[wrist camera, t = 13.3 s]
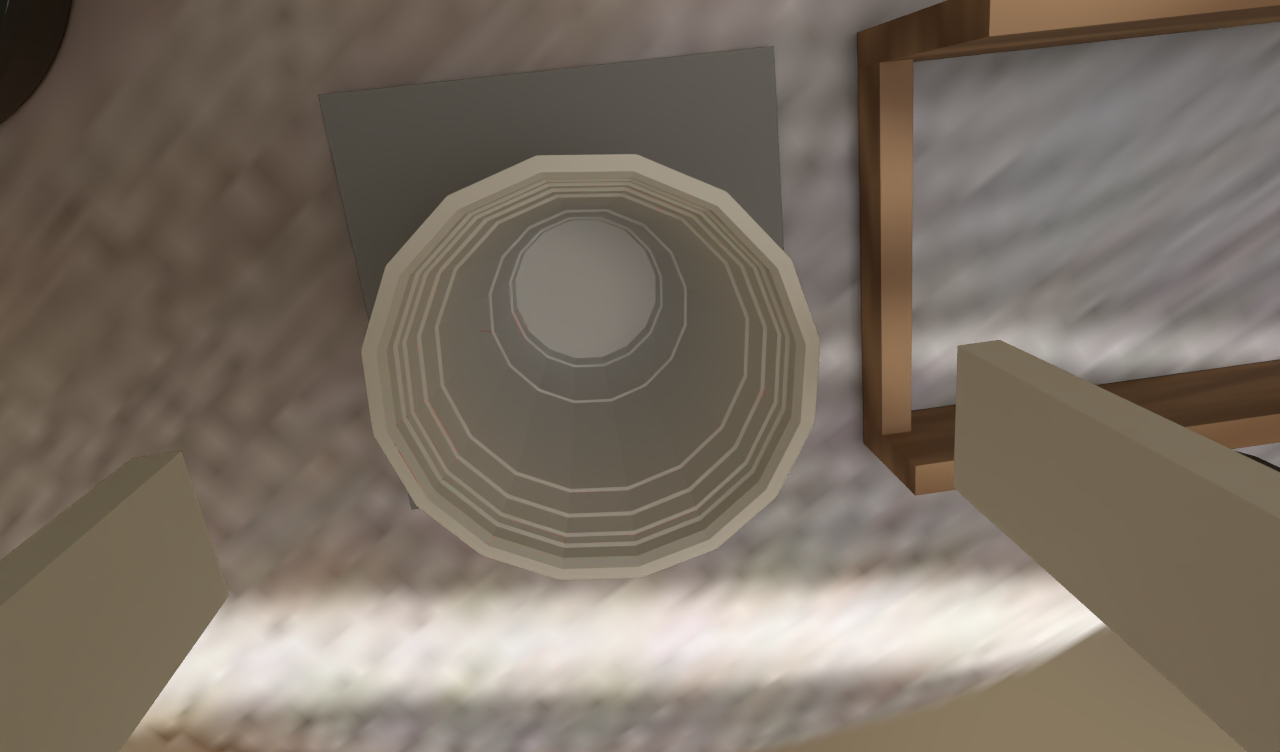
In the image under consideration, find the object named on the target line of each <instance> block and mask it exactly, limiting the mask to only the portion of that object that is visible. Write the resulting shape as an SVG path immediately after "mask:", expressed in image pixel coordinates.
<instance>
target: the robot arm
mask: <svg viewBox="0 0 1280 752" xmlns="http://www.w3.org/2000/svg"><path fill="white" fill-rule="evenodd" d="M70 2H71V0H0V122H2V121H3V120H4V119H6V118H7V117H8V116H9V115H11V114H12V113H13V112H14V111H15V110H16V109H17V108H18V107H19V106H20V105H21V104H22V103H23V102H24V101H25V100H26V99H27V98H28V96H29V95H30V94H31V93H32V92H33V91H34V89H35V88H36V86H37V85H38V84H39V82H40V81H41V79H42V78H43V76H44V75H45V73H46V71H47V70H48V68H49V66H50V64H51V62H52V60H53V58H54V56H55V54H56V52H57V50H58V47H59V44H60V41H61V39H62V36H63V33H64V30H65V26H66V22H67V18H68V14H69V8H70ZM953 487H954V488H955V489H956V490H957V491H958V492H959V493H960V494H961V495H962V496H964V497H965V498H966V499H967V500H968V501H969V502H970V503H971V504H972V505H974V506H975V507H976V508H977V509H978V510H979V511H980V512H981V513H982V514H984V515H985V516H986V517H987V518H988V519H989V520H990V521H991V522H992V523H994V524H995V525H996V526H997V527H998V528H999V529H1000V530H1001V531H1002V532H1004V533H1005V534H1006V535H1007V536H1008V537H1009V538H1010V539H1011V540H1012V541H1014V542H1015V543H1016V544H1017V545H1018V546H1019V547H1020V548H1021V549H1022V550H1024V551H1025V552H1026V553H1027V554H1028V555H1029V556H1030V557H1031V558H1032V559H1034V560H1035V561H1036V562H1037V563H1038V564H1039V565H1040V566H1041V567H1042V568H1044V569H1045V570H1046V571H1047V572H1048V573H1049V574H1050V575H1051V576H1052V577H1054V578H1055V579H1056V580H1057V581H1058V582H1059V583H1060V584H1061V585H1062V586H1064V587H1065V588H1066V589H1067V590H1068V591H1069V592H1070V593H1071V594H1072V595H1074V596H1075V597H1076V598H1077V599H1078V600H1079V601H1080V602H1081V603H1082V604H1084V605H1085V606H1086V607H1087V608H1088V609H1089V610H1090V611H1091V612H1092V613H1094V614H1095V615H1096V616H1097V617H1098V618H1099V619H1100V620H1101V621H1102V622H1104V623H1105V624H1106V625H1107V626H1108V627H1109V628H1110V629H1111V630H1112V631H1114V632H1115V633H1116V634H1117V635H1118V636H1119V637H1120V638H1121V639H1122V640H1124V641H1125V642H1126V643H1127V644H1128V645H1129V646H1130V647H1131V648H1133V649H1134V650H1135V651H1136V652H1137V653H1138V654H1139V655H1140V656H1141V657H1143V658H1144V659H1145V660H1146V661H1147V662H1148V663H1149V664H1150V665H1151V666H1153V667H1154V668H1155V669H1156V670H1157V671H1158V672H1159V673H1160V674H1161V675H1163V676H1164V677H1165V678H1166V679H1167V680H1168V681H1169V682H1170V683H1172V684H1173V685H1174V686H1175V687H1176V688H1177V689H1178V690H1179V691H1180V692H1181V693H1183V694H1184V695H1185V696H1186V697H1187V698H1188V699H1189V700H1190V701H1191V702H1193V703H1194V704H1195V705H1196V706H1197V707H1198V708H1199V709H1200V710H1201V711H1203V712H1204V713H1205V714H1206V715H1207V716H1208V717H1209V718H1210V719H1212V720H1213V721H1214V722H1215V723H1216V724H1217V725H1218V726H1219V727H1220V728H1221V729H1223V730H1224V731H1225V732H1226V733H1227V734H1228V735H1229V736H1230V737H1232V738H1233V739H1234V740H1235V741H1236V742H1237V743H1238V744H1239V745H1240V746H1242V747H1243V748H1244V749H1245V750H1246V751H1247V752H1280V468H1279V467H1277V466H1275V465H1273V464H1271V463H1269V462H1267V461H1264V460H1262V459H1260V458H1258V457H1255V456H1252V455H1248V454H1245V453H1241V452H1237V451H1234V450H1232V449H1229V448H1227V447H1225V446H1223V445H1221V444H1219V443H1217V442H1215V441H1212V440H1210V439H1208V438H1206V437H1204V436H1202V435H1200V434H1198V433H1196V432H1193V431H1191V430H1189V429H1187V428H1185V427H1183V426H1181V425H1179V424H1177V423H1174V422H1172V421H1170V420H1168V419H1166V418H1164V417H1162V416H1160V415H1158V414H1155V413H1153V412H1151V411H1149V410H1147V409H1145V408H1143V407H1141V406H1138V405H1136V404H1134V403H1132V402H1130V401H1128V400H1126V399H1124V398H1122V397H1119V396H1117V395H1115V394H1113V393H1111V392H1109V391H1107V390H1105V389H1103V388H1100V387H1098V386H1096V385H1094V384H1092V383H1090V382H1088V381H1086V380H1084V379H1081V378H1079V377H1077V376H1075V375H1073V374H1071V373H1069V372H1067V371H1064V370H1062V369H1060V368H1058V367H1056V366H1054V365H1052V364H1050V363H1048V362H1045V361H1043V360H1041V359H1039V358H1037V357H1035V356H1033V355H1031V354H1029V353H1026V352H1024V351H1022V350H1020V349H1018V348H1016V347H1014V346H1012V345H1010V344H1007V343H1005V342H1003V341H1001V340H996V341H988V342H981V343H974V344H966V345H959V346H958V353H957V385H956V417H955V448H954V480H953ZM228 596H229V593H228V590H227V587H226V584H225V581H224V578H223V575H222V572H221V569H220V566H219V563H218V560H217V557H216V554H215V551H214V548H213V545H212V542H211V539H210V536H209V533H208V530H207V527H206V524H205V521H204V518H203V515H202V512H201V509H200V506H199V503H198V500H197V497H196V494H195V491H194V488H193V485H192V482H191V479H190V476H189V473H188V469H187V466H186V463H185V460H184V457H183V454H182V451H180V452H172V453H165V454H158V455H150V456H143V457H136V458H132V459H131V460H129V461H128V462H127V463H125V464H124V465H123V466H122V467H120V468H119V469H118V470H116V471H115V472H114V473H113V474H111V475H110V476H109V477H107V478H106V479H105V480H104V481H102V482H101V483H100V484H98V485H97V486H96V487H94V488H93V489H92V490H91V491H89V492H88V493H87V494H85V495H84V496H83V497H82V498H80V499H79V500H78V501H76V502H75V503H74V504H73V505H71V506H70V507H69V508H67V509H66V510H65V511H63V512H62V513H61V514H60V515H58V516H57V517H56V518H54V519H53V520H52V521H51V522H49V523H48V524H47V525H45V526H44V527H43V528H41V529H40V530H39V531H38V532H36V533H35V534H34V535H32V536H31V537H30V538H29V539H27V540H26V541H25V542H23V543H22V544H21V545H20V546H18V547H17V548H16V549H14V550H13V551H12V552H10V553H9V554H8V555H7V556H5V557H4V558H3V559H1V560H0V752H119V751H120V750H121V748H122V747H123V745H124V744H125V743H126V741H127V740H128V738H129V737H130V735H131V734H132V733H133V731H134V730H135V728H136V727H137V725H138V724H139V723H140V721H141V720H142V718H143V717H144V716H145V714H146V713H147V711H148V710H149V708H150V707H151V706H152V704H153V703H154V701H155V700H156V698H157V697H158V696H159V694H160V693H161V691H162V690H163V689H164V687H165V686H166V684H167V683H168V681H169V680H170V679H171V677H172V676H173V674H174V673H175V671H176V670H177V669H178V667H179V666H180V664H181V663H182V662H183V660H184V659H185V657H186V656H187V654H188V653H189V652H190V650H191V649H192V647H193V646H194V644H195V643H196V642H197V640H198V639H199V637H200V636H201V634H202V633H203V632H204V630H205V629H206V627H207V626H208V625H209V623H210V622H211V620H212V619H213V617H214V616H215V615H216V613H217V612H218V610H219V609H220V607H221V606H222V605H223V603H224V602H225V600H226V599H227V598H228Z"/></svg>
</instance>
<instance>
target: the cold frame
mask: <svg viewBox="0 0 1280 752" xmlns="http://www.w3.org/2000/svg"><path fill="white" fill-rule="evenodd" d="M1272 22H1280V0H947V1H945V2H942V3H939V4H936V5H933V6H931V7H928V8H925V9H922V10H919V11H917V12H914V13H911V14H908V15H905V16H903V17H900V18H897V19H894V20H891V21H889V22H886V23H883V24H880V25H878V26H875V27H872V28H869V29H866V30H864V31H861V32H858V33H857V34H858V99H859V164H860V230H861V295H862V360H863V425H864V444H865V445H866V446H867V447H868V448H869V449H870V450H871V451H872V452H873V453H874V454H875V455H876V456H877V457H878V458H879V459H880V460H881V461H882V462H883V463H884V464H885V465H886V466H887V467H888V468H889V469H890V470H891V471H892V472H893V473H894V474H895V475H896V476H897V477H898V478H899V479H900V481H901V482H902V483H903V484H904V485H905V486H906V487H907V488H908V489H909V490H910V491H911V492H912V493H913V494H914V495H922V494H929V493H936V492H942V491H949V490H956V489H955V488H954V487H953V480H954V448H955V417H956V405H952V406H945V407H937V408H930V409H923V410H916V411H911V357H912V187H913V62H916V61H925V60H934V59H943V58H952V57H961V56H970V55H980V54H989V53H998V52H1007V51H1016V50H1025V49H1034V48H1043V47H1053V46H1062V45H1071V44H1080V43H1089V42H1098V41H1107V40H1116V39H1126V38H1135V37H1144V36H1153V35H1162V34H1171V33H1180V32H1189V31H1199V30H1208V29H1217V28H1226V27H1235V26H1244V25H1253V24H1262V23H1272ZM1096 386H1098V387H1100V388H1103V389H1105V390H1107V391H1109V392H1111V393H1113V394H1115V395H1117V396H1119V397H1122V398H1124V399H1126V400H1128V401H1130V402H1132V403H1134V404H1136V405H1138V406H1141V407H1143V408H1145V409H1147V410H1149V411H1151V412H1153V413H1155V414H1158V415H1160V416H1162V417H1164V418H1166V419H1168V420H1170V421H1172V422H1174V423H1177V424H1179V425H1181V426H1183V427H1185V428H1187V429H1189V430H1191V431H1193V432H1196V433H1198V434H1200V435H1202V436H1204V437H1206V438H1208V439H1210V440H1212V441H1215V442H1217V443H1219V444H1221V445H1223V446H1225V447H1227V448H1229V449H1236V448H1243V447H1250V446H1256V445H1263V444H1270V443H1277V442H1280V360H1275V361H1268V362H1261V363H1253V364H1246V365H1239V366H1232V367H1225V368H1217V369H1210V370H1203V371H1196V372H1189V373H1182V374H1174V375H1167V376H1160V377H1153V378H1146V379H1138V380H1131V381H1124V382H1117V383H1110V384H1103V385H1096Z"/></svg>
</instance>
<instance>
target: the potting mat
mask: <svg viewBox="0 0 1280 752" xmlns="http://www.w3.org/2000/svg"><path fill="white" fill-rule="evenodd" d="M318 96H319V101H320V105H321V110H322V114H323V119H324V123H325V127H326V132H327V136H328V141H329V145H330V150H331V154H332V158H333V163H334V167H335V172H336V176H337V181H338V185H339V189H340V194H341V198H342V203H343V207H344V212H345V216H346V220H347V225H348V229H349V234H350V238H351V243H352V247H353V251H354V256H355V260H356V265H357V269H358V274H359V278H360V283H361V287H362V291H363V296H364V300H365V305H366V309H367V314H368V318H369V321H370V318H371V315H372V311H373V308H374V304H375V301H376V298H377V294H378V291H379V287H380V284H381V280H382V277H383V274H384V270H385V267H386V265H387V264H388V263H389V262H390V261H391V259H392V258H393V257H394V256H395V255H396V254H397V253H398V251H399V250H400V249H401V248H402V247H403V246H404V245H405V243H406V242H407V241H408V240H409V239H410V238H411V237H412V235H413V234H414V233H415V232H416V231H417V230H418V229H419V227H420V226H421V225H422V224H423V223H424V222H425V221H426V219H427V218H428V217H429V216H430V215H431V214H432V213H433V211H434V210H435V209H436V208H437V207H438V206H439V205H440V203H441V202H442V201H443V200H444V199H445V198H446V197H447V196H448V195H450V194H452V193H455V192H457V191H459V190H461V189H463V188H466V187H468V186H470V185H472V184H474V183H477V182H479V181H481V180H483V179H485V178H488V177H490V176H492V175H494V174H496V173H499V172H501V171H503V170H505V169H508V168H510V167H512V166H514V165H516V164H519V163H521V162H523V161H525V160H527V159H530V158H532V157H534V156H536V155H609V154H637V155H640V156H642V157H644V158H647V159H649V160H652V161H654V162H656V163H659V164H661V165H664V166H666V167H668V168H671V169H673V170H676V171H678V172H680V173H683V174H685V175H688V176H690V177H692V178H695V179H697V180H700V181H702V182H704V183H707V184H709V185H712V186H714V187H716V188H719V189H721V190H724V191H726V192H727V193H728V194H729V195H730V196H731V197H732V198H733V199H734V200H735V201H736V202H737V203H738V204H739V205H740V206H741V207H742V208H743V209H744V210H745V211H746V212H747V214H748V215H749V216H750V217H751V218H752V219H753V220H754V221H755V222H756V223H757V224H758V225H759V226H760V227H761V228H762V229H763V230H764V231H765V232H766V233H767V234H768V235H769V237H770V238H771V239H772V240H773V241H774V242H775V243H776V244H777V245H778V246H779V247H780V248H781V249H782V250H783V251H784V248H783V227H782V205H781V184H780V163H779V142H778V121H777V100H776V79H775V58H774V46H770V47H761V48H752V49H742V50H733V51H723V52H714V53H705V54H695V55H686V56H677V57H667V58H658V59H649V60H639V61H630V62H621V63H611V64H602V65H593V66H583V67H574V68H565V69H555V70H546V71H537V72H527V73H518V74H508V75H499V76H490V77H480V78H471V79H462V80H452V81H443V82H434V83H424V84H415V85H406V86H396V87H387V88H378V89H368V90H359V91H350V92H340V93H331V94H322V95H318ZM408 495H409V500H410V504H411V508H412V509H418V508H419V507H418V506H416V504H415V502H414V501H413V499H412V498H411V496H410V494H409V493H408Z"/></svg>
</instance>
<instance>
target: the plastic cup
mask: <svg viewBox="0 0 1280 752" xmlns="http://www.w3.org/2000/svg"><path fill="white" fill-rule="evenodd" d="M820 342H821V341H820V339H819V336H818V333H817V330H816V327H815V325H814V322H813V319H812V316H811V313H810V311H809V308H808V305H807V302H806V299H805V297H804V294H803V291H802V288H801V285H800V283H799V280H798V277H797V274H796V271H795V269H794V266H793V263H792V260H791V258H790V257H789V256H788V255H787V254H786V253H785V252H784V251H783V250H782V249H781V248H780V247H779V246H778V245H777V244H776V243H775V242H774V241H773V240H772V239H771V238H770V237H769V235H768V234H767V233H766V232H765V231H764V230H763V229H762V228H761V227H760V226H759V225H758V224H757V223H756V222H755V221H754V220H753V219H752V218H751V217H750V216H749V215H748V214H747V212H746V211H745V210H744V209H743V208H742V207H741V206H740V205H739V204H738V203H737V202H736V201H735V200H734V199H733V198H732V197H731V196H730V195H729V194H728V193H727V192H726V191H724V190H721V189H719V188H716V187H714V186H712V185H709V184H707V183H704V182H702V181H700V180H697V179H695V178H692V177H690V176H688V175H685V174H683V173H680V172H678V171H676V170H673V169H671V168H668V167H666V166H664V165H661V164H659V163H656V162H654V161H652V160H649V159H647V158H644V157H642V156H640V155H637V154H609V155H536V156H534V157H532V158H530V159H527V160H525V161H523V162H521V163H519V164H516V165H514V166H512V167H510V168H508V169H505V170H503V171H501V172H499V173H496V174H494V175H492V176H490V177H488V178H485V179H483V180H481V181H479V182H477V183H474V184H472V185H470V186H468V187H466V188H463V189H461V190H459V191H457V192H455V193H452V194H450V195H448V196H447V197H446V198H445V199H444V200H443V201H442V202H441V203H440V205H439V206H438V207H437V208H436V209H435V210H434V211H433V213H432V214H431V215H430V216H429V217H428V218H427V219H426V221H425V222H424V223H423V224H422V225H421V226H420V227H419V229H418V230H417V231H416V232H415V233H414V234H413V235H412V237H411V238H410V239H409V240H408V241H407V242H406V243H405V245H404V246H403V247H402V248H401V249H400V250H399V251H398V253H397V254H396V255H395V256H394V257H393V258H392V259H391V261H390V262H389V263H388V264H387V265H386V267H385V270H384V274H383V277H382V280H381V284H380V287H379V291H378V294H377V298H376V301H375V304H374V308H373V311H372V315H371V318H370V321H369V325H368V328H367V332H366V335H365V339H364V342H363V345H362V349H361V355H362V361H363V368H364V375H365V382H366V389H367V396H368V403H369V410H370V417H371V423H372V430H373V435H374V437H375V439H376V440H377V442H378V443H379V445H380V447H381V448H382V450H383V452H384V453H385V455H386V457H387V458H388V460H389V462H390V463H391V465H392V466H393V468H394V470H395V471H396V473H397V475H398V476H399V478H400V480H401V481H402V483H403V484H404V486H405V488H406V489H407V491H408V493H409V494H410V496H411V498H412V499H413V501H414V502H415V504H416V506H418V507H419V508H420V509H421V510H423V511H424V512H425V513H427V514H428V515H429V516H431V517H432V518H433V519H435V520H436V521H437V522H439V523H440V524H441V525H443V526H444V527H445V528H446V529H448V530H449V531H450V532H452V533H453V534H454V535H456V536H457V537H458V538H460V539H461V540H462V541H464V542H465V543H466V544H467V545H469V546H470V547H471V548H473V549H474V550H475V551H477V552H478V553H479V554H481V555H482V556H485V557H488V558H492V559H495V560H498V561H501V562H504V563H507V564H511V565H514V566H517V567H520V568H523V569H527V570H530V571H533V572H536V573H539V574H542V575H546V576H549V577H552V578H555V579H558V580H576V579H610V578H641V577H644V576H647V575H649V574H652V573H654V572H657V571H660V570H662V569H665V568H668V567H670V566H673V565H675V564H678V563H681V562H683V561H686V560H688V559H691V558H694V557H696V556H699V555H702V554H704V553H707V552H709V551H712V550H715V549H717V548H718V547H719V546H720V545H721V544H723V543H724V542H725V541H726V540H727V539H728V538H729V537H731V536H732V535H733V534H734V533H735V532H736V531H737V530H739V529H740V528H741V527H742V526H743V525H744V524H746V523H747V522H748V521H749V520H750V519H751V518H752V517H754V516H755V515H756V514H757V513H758V512H759V511H760V510H762V509H763V508H764V507H765V506H766V505H767V504H769V503H770V502H771V501H772V500H773V499H774V498H775V497H777V495H778V493H779V491H780V489H781V487H782V485H783V484H784V482H785V480H786V478H787V476H788V474H789V472H790V470H791V468H792V466H793V464H794V462H795V460H796V459H797V457H798V455H799V453H800V451H801V449H802V447H803V445H804V443H805V441H806V439H807V437H808V435H809V433H810V432H811V430H812V428H813V426H814V421H815V408H816V394H817V381H818V368H819V355H820Z"/></svg>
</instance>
